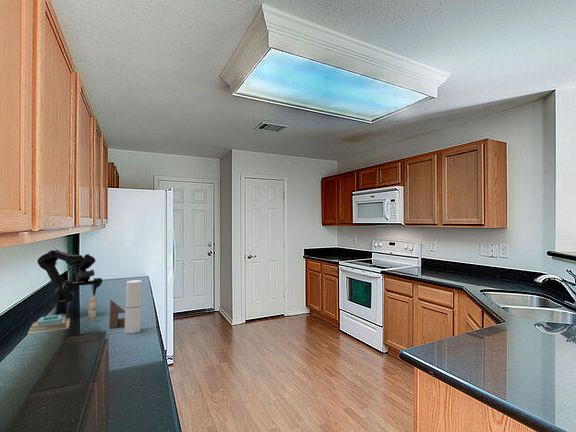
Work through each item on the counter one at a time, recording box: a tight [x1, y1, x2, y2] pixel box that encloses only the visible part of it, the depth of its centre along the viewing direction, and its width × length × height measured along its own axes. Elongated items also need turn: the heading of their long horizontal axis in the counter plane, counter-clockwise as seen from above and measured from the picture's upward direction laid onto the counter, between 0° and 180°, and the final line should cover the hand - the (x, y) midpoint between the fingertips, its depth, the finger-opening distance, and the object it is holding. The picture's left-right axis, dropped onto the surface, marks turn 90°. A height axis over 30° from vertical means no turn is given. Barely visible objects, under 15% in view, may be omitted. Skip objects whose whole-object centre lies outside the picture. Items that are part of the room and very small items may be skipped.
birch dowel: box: [87, 296, 98, 322], centre depth 170 cm, size 4×4×13 cm
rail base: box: [27, 315, 71, 335], centre depth 160 cm, size 20×16×3 cm
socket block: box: [38, 314, 63, 325], centre depth 159 cm, size 9×9×4 cm
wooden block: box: [108, 299, 126, 329], centre depth 164 cm, size 4×11×18 cm, turn 126°
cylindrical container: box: [124, 279, 143, 334], centre depth 156 cm, size 7×7×25 cm
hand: (85, 296), depth 174 cm, fingers open, 9 cm apart
